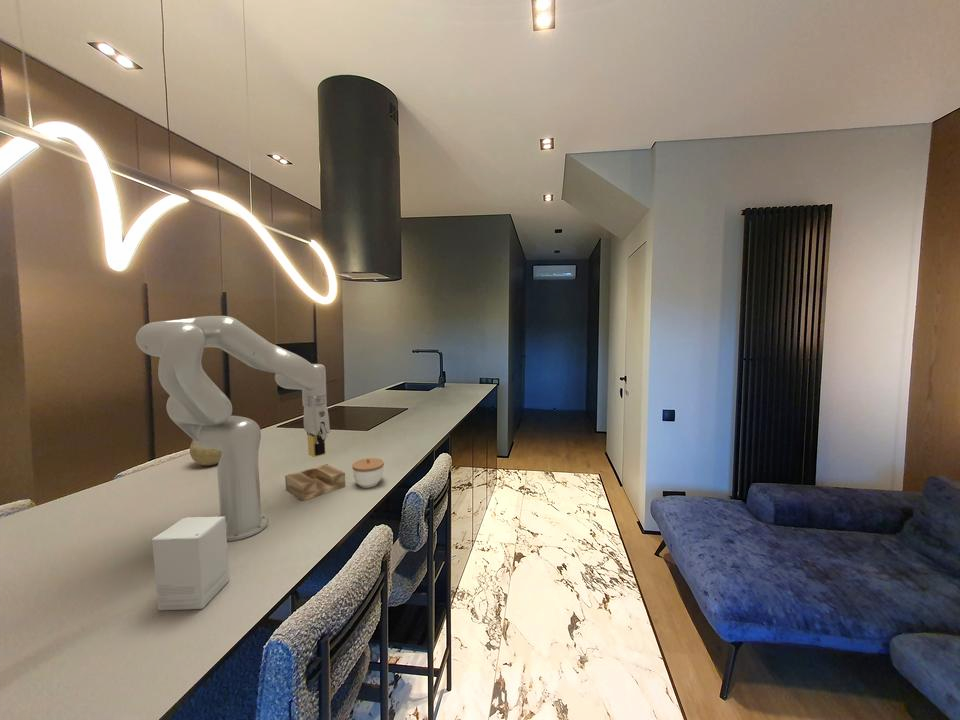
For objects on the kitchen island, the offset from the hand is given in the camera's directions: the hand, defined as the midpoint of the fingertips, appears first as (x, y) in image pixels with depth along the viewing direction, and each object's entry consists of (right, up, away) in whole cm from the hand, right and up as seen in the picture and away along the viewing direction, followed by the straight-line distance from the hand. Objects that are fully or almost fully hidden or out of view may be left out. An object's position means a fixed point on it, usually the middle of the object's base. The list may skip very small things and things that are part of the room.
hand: (316, 452), depth 129 cm
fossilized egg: (-54, -11, +25) cm, 61 cm away
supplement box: (-4, -18, -50) cm, 53 cm away
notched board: (-1, -13, +2) cm, 13 cm away
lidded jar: (+16, -13, +5) cm, 22 cm away
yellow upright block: (0, -1, 0) cm, 1 cm away
